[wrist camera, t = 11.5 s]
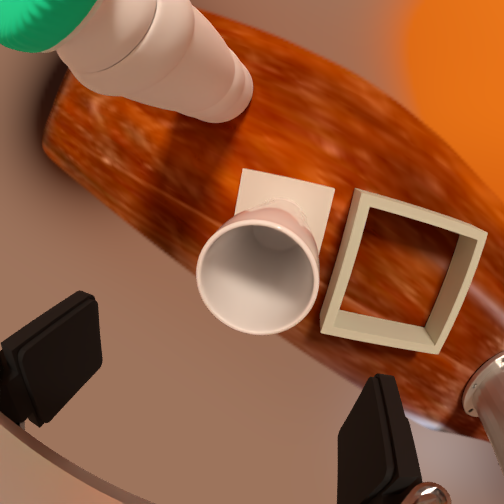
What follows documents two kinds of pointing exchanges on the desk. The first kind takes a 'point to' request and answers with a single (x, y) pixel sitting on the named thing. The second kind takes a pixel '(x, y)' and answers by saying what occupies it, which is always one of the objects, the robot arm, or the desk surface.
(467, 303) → the desk surface
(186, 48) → the water bottle
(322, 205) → the ceramic tile
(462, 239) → the beige square frame
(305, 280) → the drinking glass
